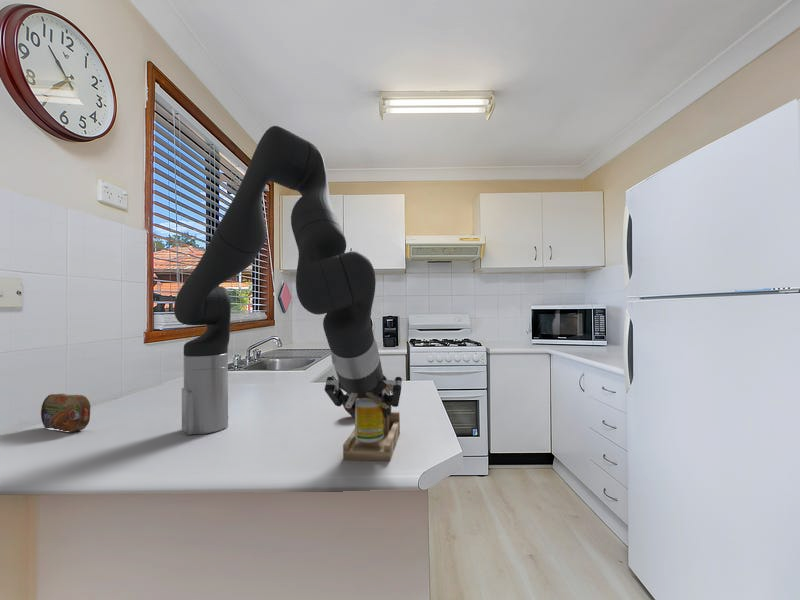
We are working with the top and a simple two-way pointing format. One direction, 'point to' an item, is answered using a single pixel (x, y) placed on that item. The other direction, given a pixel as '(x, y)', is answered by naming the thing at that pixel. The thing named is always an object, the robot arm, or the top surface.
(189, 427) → the robot arm
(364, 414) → the supplement bottle
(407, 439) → the top surface
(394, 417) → the wooden box stand
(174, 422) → the top surface
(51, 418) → the tin
